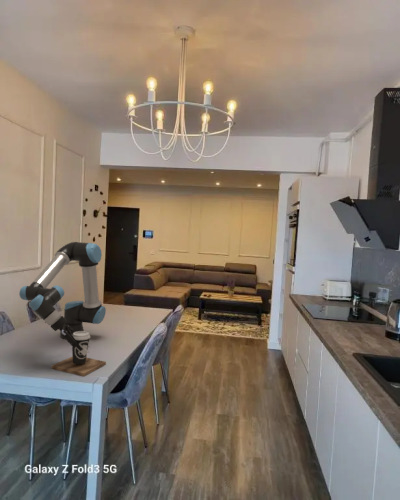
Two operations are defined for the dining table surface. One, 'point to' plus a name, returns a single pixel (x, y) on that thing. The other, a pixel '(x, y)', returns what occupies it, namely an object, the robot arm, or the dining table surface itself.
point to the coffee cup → (83, 339)
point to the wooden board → (78, 366)
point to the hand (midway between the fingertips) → (86, 351)
